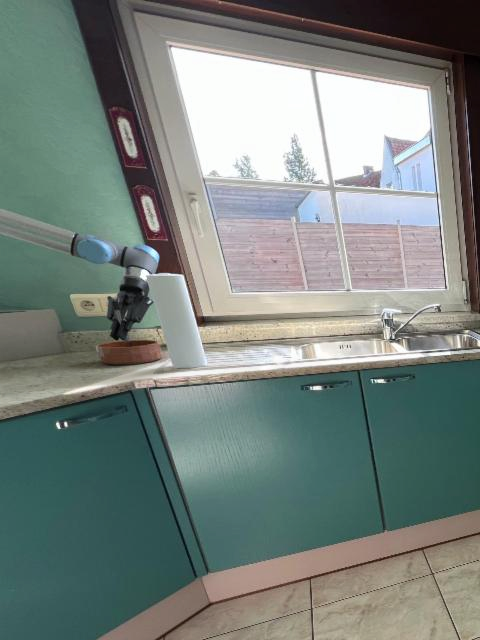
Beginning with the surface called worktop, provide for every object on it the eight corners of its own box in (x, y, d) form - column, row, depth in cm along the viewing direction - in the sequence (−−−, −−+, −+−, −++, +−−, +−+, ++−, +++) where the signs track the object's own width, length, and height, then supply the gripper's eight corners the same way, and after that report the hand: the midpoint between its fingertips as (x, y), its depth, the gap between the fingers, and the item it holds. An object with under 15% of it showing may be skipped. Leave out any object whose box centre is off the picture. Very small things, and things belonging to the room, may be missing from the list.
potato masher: (116, 357, 168) (97, 302, 161) (120, 354, 173) (102, 300, 166) (143, 355, 172) (126, 301, 165) (146, 352, 177) (129, 299, 170)
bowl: (97, 367, 163) (90, 349, 160) (107, 358, 175) (101, 341, 173) (160, 362, 171) (155, 345, 169) (165, 354, 183) (161, 338, 181)
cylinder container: (208, 361, 175) (184, 272, 164) (206, 366, 168) (181, 274, 157) (174, 363, 170) (147, 272, 159) (171, 369, 163) (142, 273, 152)
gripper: (165, 291, 180) (149, 344, 171) (121, 290, 178) (102, 344, 169) (151, 276, 173) (133, 331, 164) (104, 275, 171) (83, 331, 162)
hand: (117, 338), depth 166 cm, fingers closed on potato masher
